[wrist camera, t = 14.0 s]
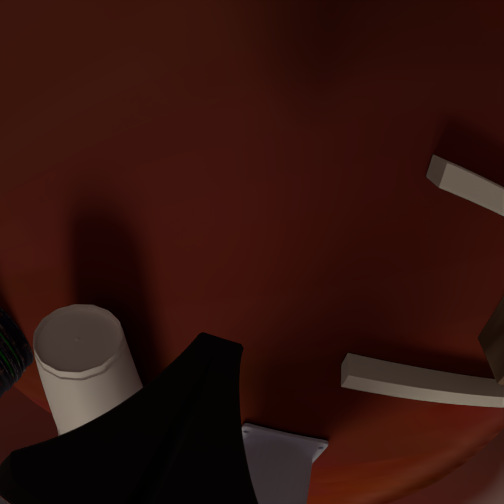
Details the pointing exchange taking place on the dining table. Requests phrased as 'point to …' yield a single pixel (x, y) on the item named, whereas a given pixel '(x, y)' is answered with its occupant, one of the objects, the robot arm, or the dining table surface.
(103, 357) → the foam cup
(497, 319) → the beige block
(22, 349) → the green-striped black cylinder
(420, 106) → the dining table surface
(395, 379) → the bay
